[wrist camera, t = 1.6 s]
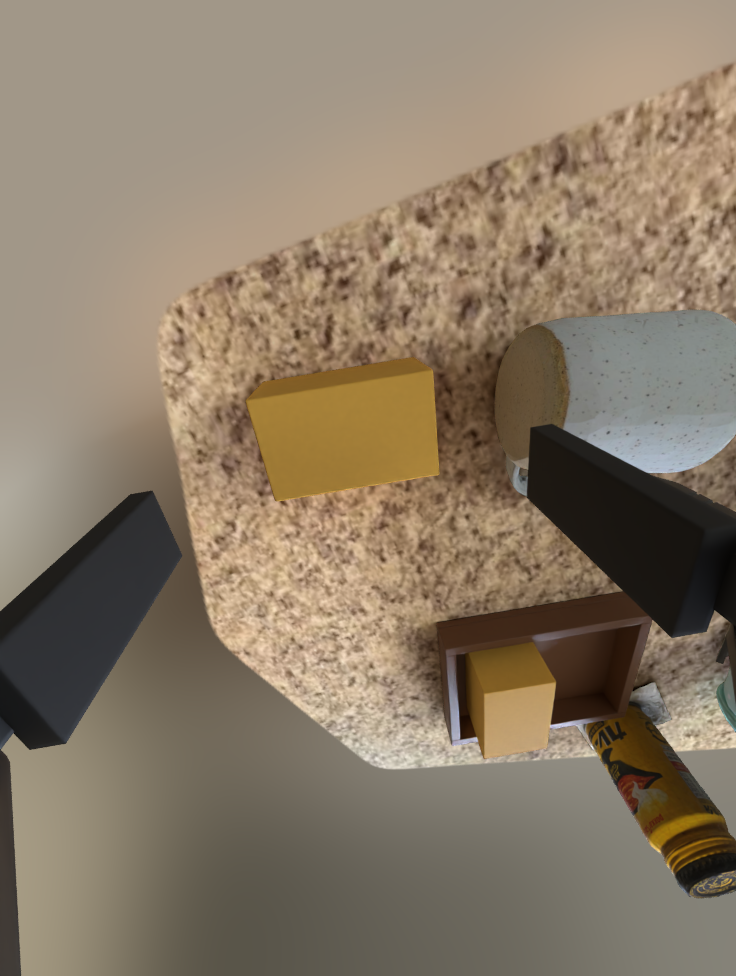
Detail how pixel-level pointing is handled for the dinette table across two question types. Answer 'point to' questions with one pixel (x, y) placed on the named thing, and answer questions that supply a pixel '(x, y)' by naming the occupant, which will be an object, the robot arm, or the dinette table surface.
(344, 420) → the pad loose
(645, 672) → the dinette table surface
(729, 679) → the lunch box
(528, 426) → the ceramic mug
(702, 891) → the condiment
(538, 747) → the pad seated
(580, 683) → the frame
